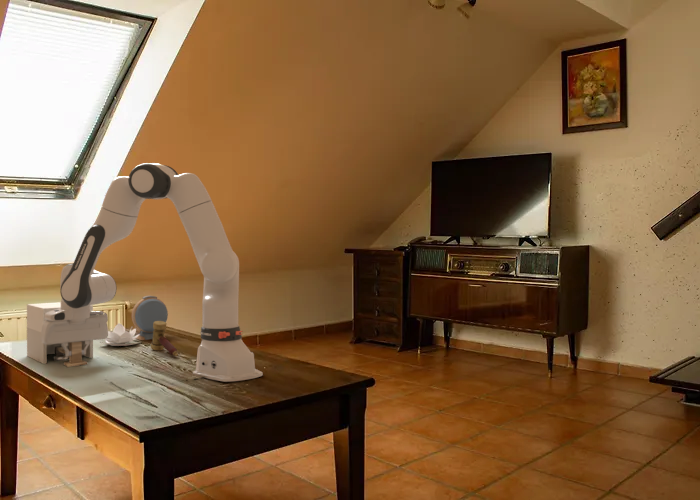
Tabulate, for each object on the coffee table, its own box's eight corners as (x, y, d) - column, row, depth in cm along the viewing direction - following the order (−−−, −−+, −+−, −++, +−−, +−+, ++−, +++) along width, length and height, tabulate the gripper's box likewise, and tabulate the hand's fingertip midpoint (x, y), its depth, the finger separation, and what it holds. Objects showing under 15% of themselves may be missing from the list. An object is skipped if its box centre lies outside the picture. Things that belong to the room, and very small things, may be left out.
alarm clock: (161, 336, 268) (161, 294, 268) (171, 338, 261) (171, 295, 260) (128, 339, 259) (128, 295, 259) (137, 342, 252) (137, 297, 251)
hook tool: (87, 364, 207) (87, 341, 207) (68, 366, 203) (68, 343, 203) (67, 355, 221) (67, 334, 221) (49, 357, 217) (49, 335, 217)
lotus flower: (147, 343, 249) (147, 321, 249) (131, 350, 234) (131, 326, 234) (111, 343, 250) (111, 320, 250) (93, 349, 235) (93, 326, 235)
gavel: (181, 368, 221) (184, 341, 219) (168, 369, 219) (172, 342, 217) (161, 345, 238) (164, 320, 236) (149, 346, 235) (151, 320, 233)
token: (71, 359, 216) (71, 356, 215) (56, 361, 212) (56, 357, 212) (66, 357, 219) (66, 354, 219) (51, 359, 216) (51, 355, 216)
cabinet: (94, 358, 218) (94, 305, 218) (44, 364, 207) (44, 308, 207) (74, 350, 232) (74, 301, 232) (27, 356, 221) (26, 304, 221)
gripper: (103, 309, 215) (104, 350, 215) (39, 314, 202) (39, 358, 202) (111, 311, 211) (111, 353, 211) (45, 316, 197) (45, 360, 197)
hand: (75, 355), depth 206 cm, fingers closed on hook tool, 3 cm apart
